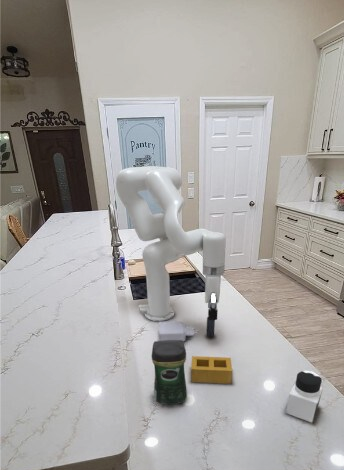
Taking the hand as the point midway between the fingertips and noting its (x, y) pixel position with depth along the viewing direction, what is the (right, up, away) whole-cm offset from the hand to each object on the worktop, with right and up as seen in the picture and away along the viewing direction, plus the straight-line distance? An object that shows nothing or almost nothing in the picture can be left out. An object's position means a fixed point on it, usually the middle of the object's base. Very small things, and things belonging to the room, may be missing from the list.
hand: (212, 313), depth 121 cm
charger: (-12, -9, +5) cm, 16 cm away
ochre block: (-3, -20, -16) cm, 26 cm away
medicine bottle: (+21, -28, -30) cm, 46 cm away
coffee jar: (-15, -25, -24) cm, 38 cm away
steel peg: (0, -9, +5) cm, 10 cm away
